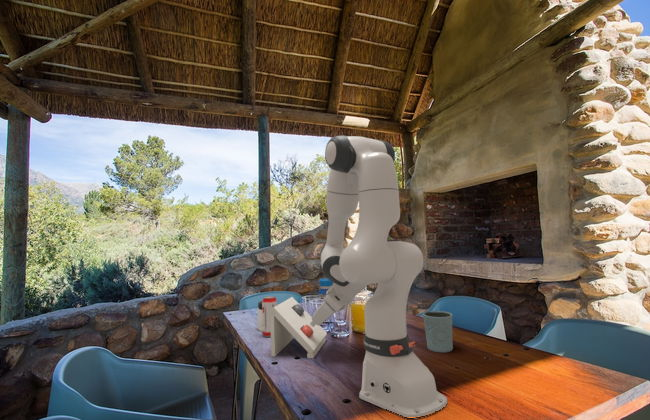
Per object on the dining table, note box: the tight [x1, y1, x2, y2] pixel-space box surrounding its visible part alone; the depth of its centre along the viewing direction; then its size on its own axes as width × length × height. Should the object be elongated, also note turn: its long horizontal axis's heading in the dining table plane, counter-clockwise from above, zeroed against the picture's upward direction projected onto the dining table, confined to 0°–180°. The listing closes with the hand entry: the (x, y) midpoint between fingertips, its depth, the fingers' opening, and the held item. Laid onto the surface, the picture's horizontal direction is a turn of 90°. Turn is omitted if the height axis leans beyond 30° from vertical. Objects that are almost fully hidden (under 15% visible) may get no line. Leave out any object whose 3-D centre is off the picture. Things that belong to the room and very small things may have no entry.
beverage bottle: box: [317, 278, 334, 298], centre depth 163 cm, size 8×8×20 cm
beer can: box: [261, 295, 278, 338], centre depth 143 cm, size 6×6×16 cm
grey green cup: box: [422, 310, 454, 353], centre depth 121 cm, size 10×10×12 cm
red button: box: [300, 325, 314, 338], centre depth 121 cm, size 5×4×5 cm
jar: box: [256, 300, 263, 333], centre depth 153 cm, size 9×8×12 cm
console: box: [270, 296, 328, 359], centre depth 126 cm, size 16×20×17 cm
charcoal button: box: [293, 303, 305, 316], centre depth 131 cm, size 5×4×5 cm
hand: (312, 324), depth 121 cm, fingers closed
